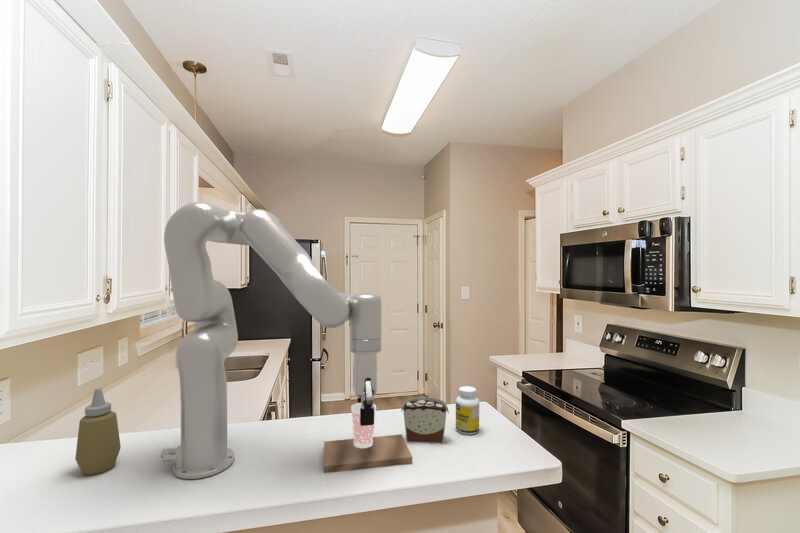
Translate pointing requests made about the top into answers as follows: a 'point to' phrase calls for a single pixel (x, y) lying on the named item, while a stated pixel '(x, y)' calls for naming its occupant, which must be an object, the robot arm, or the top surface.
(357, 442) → the beverage cup
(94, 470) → the squeeze bottle
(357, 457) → the walnut board
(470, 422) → the pill bottle
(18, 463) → the top surface
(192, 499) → the top surface
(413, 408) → the food container
